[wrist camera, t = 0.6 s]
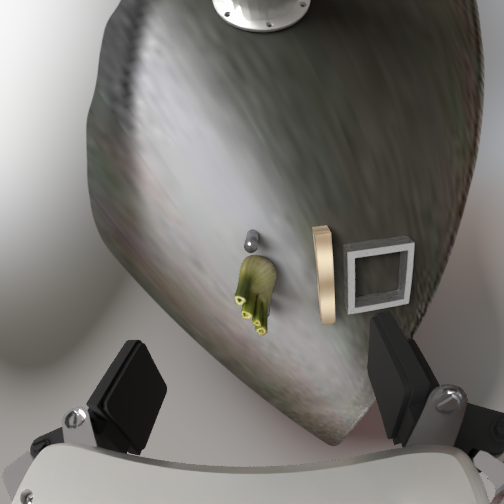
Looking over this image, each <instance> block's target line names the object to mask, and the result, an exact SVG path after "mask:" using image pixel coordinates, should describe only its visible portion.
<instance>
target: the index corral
mask: <svg viewBox="0 0 504 504" xmlns="http://www.w3.org/2000/svg"><path fill="white" fill-rule="evenodd" d="M414 244H415V242H413V241H412V240H411V239H410V238H409V237H408V236H407V235H405V236H398V237H391V238H384V239H376V240H369V241H362V242H355V243H347V244H343V264H344V305H345V307H346V310H347V313H348V315H349V314H355V313H361V312H366V311H372V310H377V309H383V308H388V307H393V306H398V305H403V304H408V303H409V298H410V290H411V282H412V272H413V260H414ZM393 252H400V264H399V278H398V290H393V291H387V292H381V293H376V294H370V295H364V296H358V297H355V258H360V257H366V256H373V255H380V254H386V253H393Z"/></svg>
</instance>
